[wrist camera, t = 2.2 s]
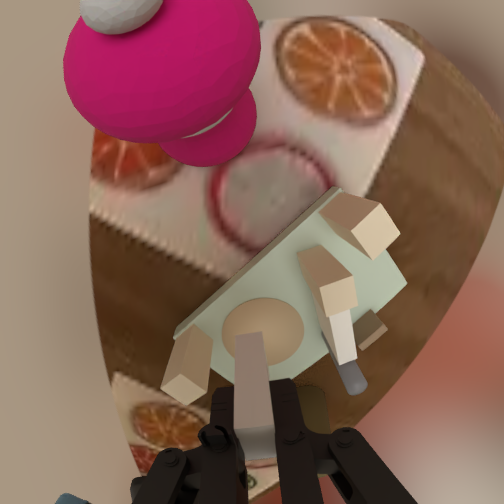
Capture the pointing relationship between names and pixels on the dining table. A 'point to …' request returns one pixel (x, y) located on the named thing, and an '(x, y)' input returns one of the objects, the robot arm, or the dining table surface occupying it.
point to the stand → (291, 299)
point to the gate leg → (331, 299)
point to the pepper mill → (167, 74)
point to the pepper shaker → (314, 410)
